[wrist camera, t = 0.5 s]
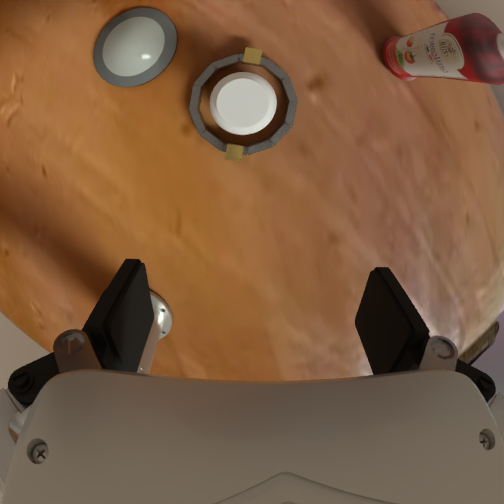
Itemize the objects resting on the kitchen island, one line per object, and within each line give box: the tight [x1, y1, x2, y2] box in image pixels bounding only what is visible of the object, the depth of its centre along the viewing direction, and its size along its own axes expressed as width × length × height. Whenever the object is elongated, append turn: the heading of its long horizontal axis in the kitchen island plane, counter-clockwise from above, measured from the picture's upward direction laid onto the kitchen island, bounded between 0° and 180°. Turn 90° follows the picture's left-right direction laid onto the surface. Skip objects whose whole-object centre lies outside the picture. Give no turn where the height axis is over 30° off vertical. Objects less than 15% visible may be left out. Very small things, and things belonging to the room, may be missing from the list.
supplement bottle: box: [210, 72, 277, 135], centre depth 28 cm, size 7×7×13 cm
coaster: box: [94, 8, 178, 87], centre depth 28 cm, size 12×12×1 cm
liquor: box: [383, 13, 504, 85], centre depth 17 cm, size 7×7×28 cm
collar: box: [189, 47, 298, 162], centre depth 32 cm, size 15×13×3 cm
